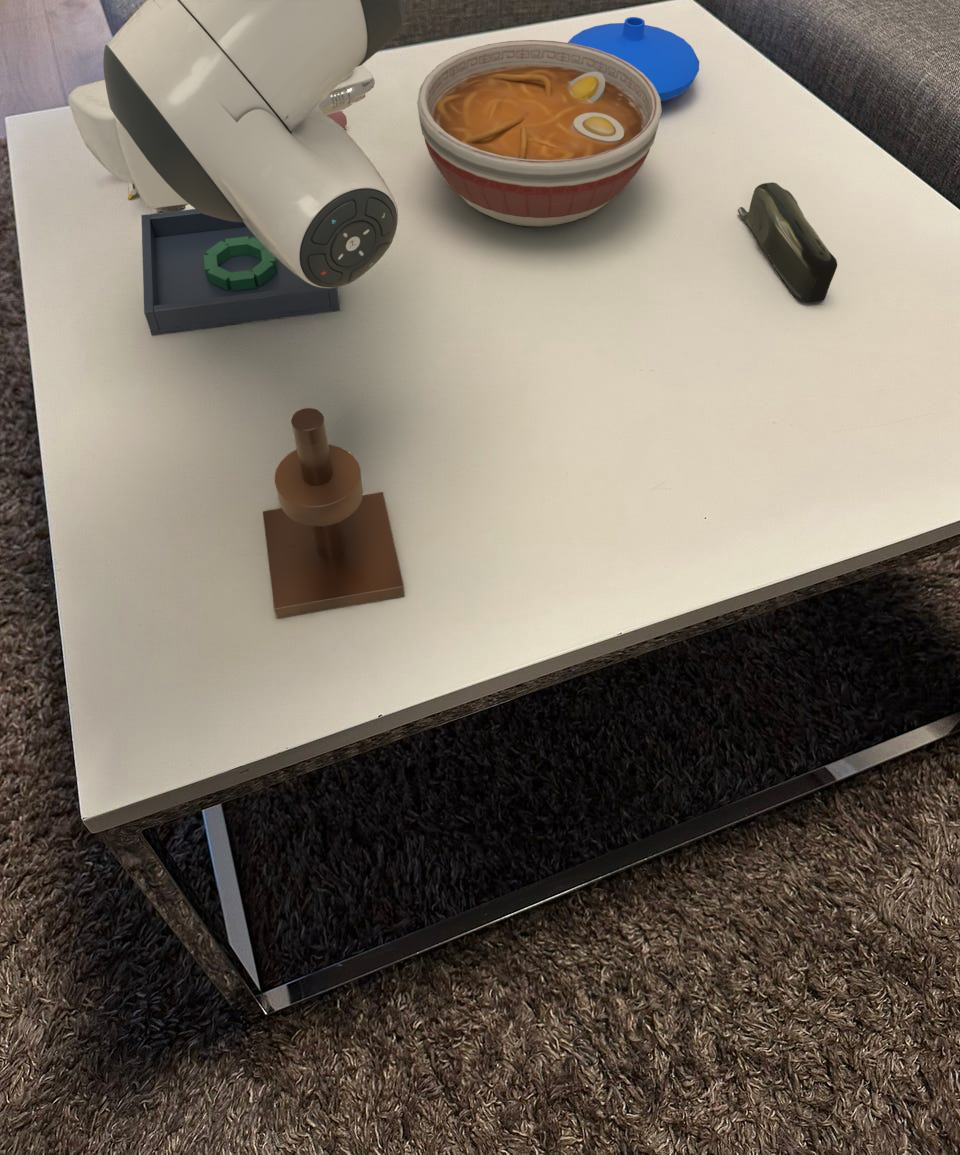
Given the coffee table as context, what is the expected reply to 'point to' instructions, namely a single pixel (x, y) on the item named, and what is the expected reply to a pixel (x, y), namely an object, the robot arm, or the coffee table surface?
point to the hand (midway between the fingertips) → (182, 50)
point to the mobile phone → (790, 242)
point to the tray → (194, 302)
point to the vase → (646, 53)
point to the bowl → (538, 128)
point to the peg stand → (327, 529)
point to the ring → (241, 278)
